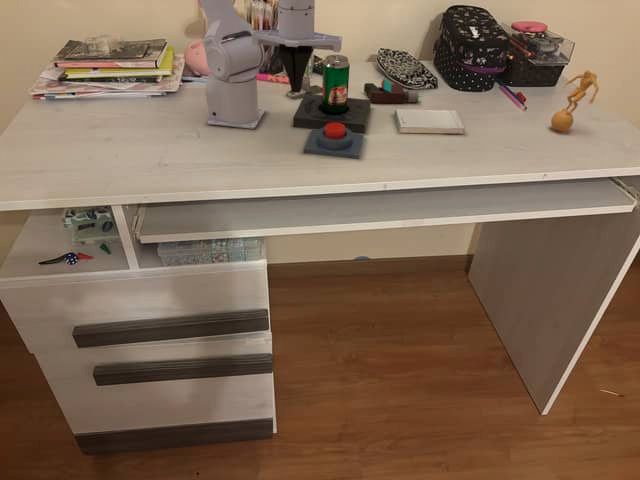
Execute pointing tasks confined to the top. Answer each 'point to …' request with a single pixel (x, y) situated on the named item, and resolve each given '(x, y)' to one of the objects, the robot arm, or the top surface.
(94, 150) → the top surface
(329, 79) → the soda can
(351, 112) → the dock
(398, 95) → the toy gun
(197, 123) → the top surface
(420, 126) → the hard drive
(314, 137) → the button box
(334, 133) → the power button
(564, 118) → the figurine
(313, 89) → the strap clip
